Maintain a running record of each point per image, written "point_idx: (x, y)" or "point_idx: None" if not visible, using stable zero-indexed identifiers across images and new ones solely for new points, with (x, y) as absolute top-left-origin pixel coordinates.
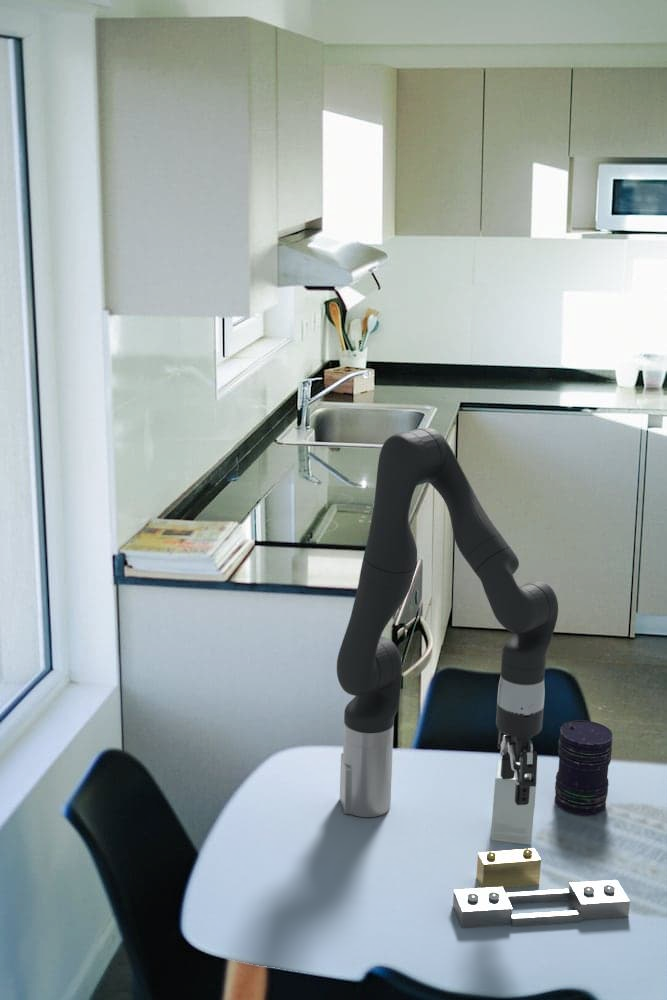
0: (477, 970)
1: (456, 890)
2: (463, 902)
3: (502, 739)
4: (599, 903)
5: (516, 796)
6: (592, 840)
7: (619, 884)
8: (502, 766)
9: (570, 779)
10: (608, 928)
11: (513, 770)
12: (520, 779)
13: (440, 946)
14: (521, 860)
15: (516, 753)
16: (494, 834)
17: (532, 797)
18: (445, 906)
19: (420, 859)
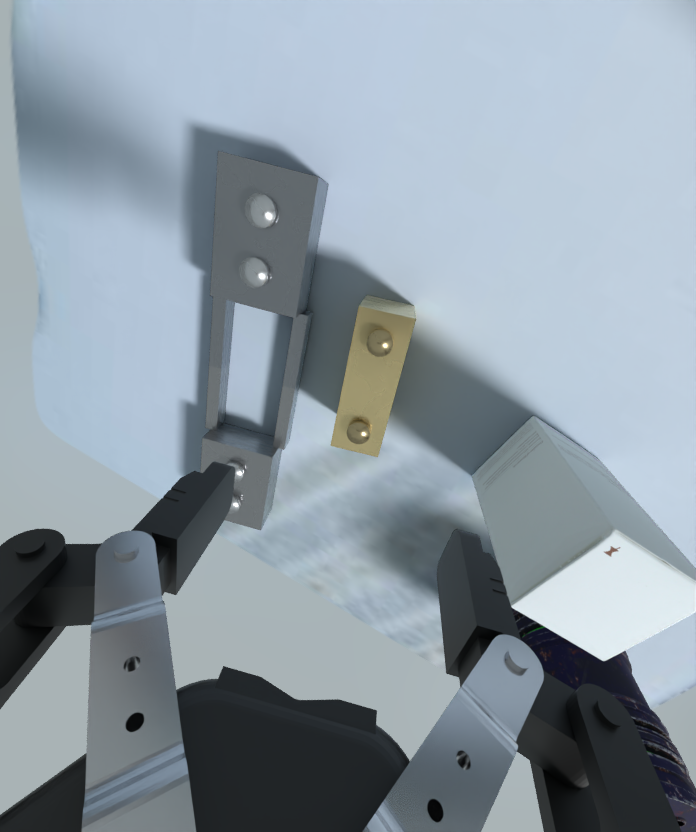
0: (84, 119)
1: (313, 183)
2: (257, 176)
3: (598, 803)
4: (201, 467)
5: (193, 484)
6: (431, 568)
7: (247, 526)
8: (469, 582)
9: (562, 658)
10: (190, 449)
11: (151, 604)
12: (1, 574)
13: (177, 56)
14: (342, 405)
15: (30, 818)
16: (531, 427)
17: (500, 560)
18: (332, 161)
19: (560, 194)
